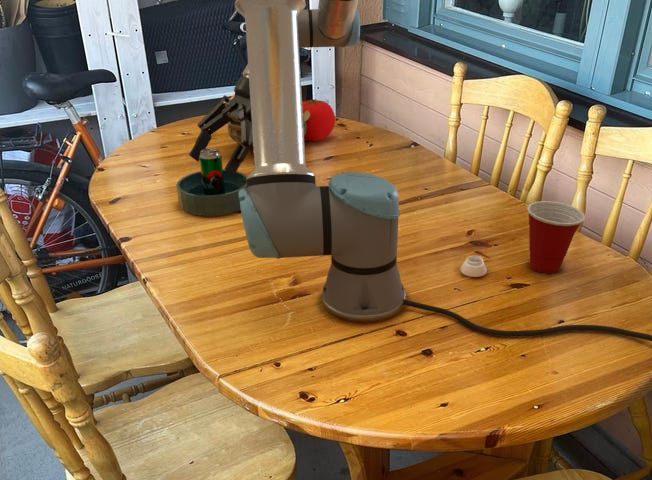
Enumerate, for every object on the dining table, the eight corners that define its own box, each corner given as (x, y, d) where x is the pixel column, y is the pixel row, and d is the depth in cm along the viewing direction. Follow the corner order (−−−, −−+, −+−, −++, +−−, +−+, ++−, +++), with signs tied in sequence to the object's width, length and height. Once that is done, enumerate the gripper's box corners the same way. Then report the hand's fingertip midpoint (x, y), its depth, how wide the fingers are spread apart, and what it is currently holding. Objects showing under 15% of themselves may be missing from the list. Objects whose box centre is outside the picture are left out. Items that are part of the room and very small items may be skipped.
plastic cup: (584, 277, 135) (596, 219, 128) (530, 282, 134) (540, 224, 127) (560, 251, 144) (571, 196, 137) (510, 256, 142) (518, 201, 135)
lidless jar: (476, 281, 134) (491, 272, 137) (477, 267, 133) (493, 258, 135) (455, 272, 137) (470, 264, 140) (456, 259, 135) (471, 250, 138)
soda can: (230, 199, 167) (225, 149, 160) (216, 206, 164) (210, 156, 157) (214, 195, 170) (208, 146, 163) (200, 202, 166) (193, 152, 159)
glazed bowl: (265, 202, 167) (264, 181, 164) (208, 224, 157) (205, 202, 154) (222, 184, 177) (220, 164, 174) (165, 203, 167) (162, 182, 164)
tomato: (343, 137, 204) (343, 98, 198) (311, 148, 197) (310, 109, 190) (315, 129, 211) (313, 91, 205) (283, 139, 204) (281, 101, 197)
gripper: (301, 104, 157) (255, 186, 157) (232, 85, 172) (190, 160, 172) (282, 84, 151) (234, 170, 151) (212, 66, 166) (168, 144, 166)
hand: (210, 165), depth 161 cm, fingers open, 13 cm apart
